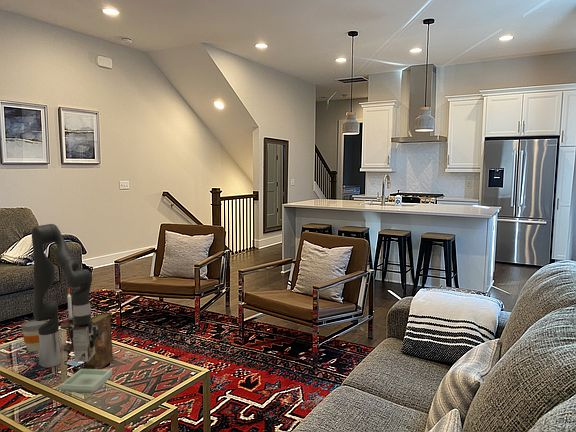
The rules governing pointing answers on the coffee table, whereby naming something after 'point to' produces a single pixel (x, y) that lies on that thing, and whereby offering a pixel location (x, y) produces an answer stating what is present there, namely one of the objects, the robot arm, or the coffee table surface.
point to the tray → (86, 380)
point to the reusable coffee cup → (32, 334)
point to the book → (101, 343)
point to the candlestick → (69, 323)
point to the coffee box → (82, 343)
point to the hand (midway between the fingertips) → (84, 347)
